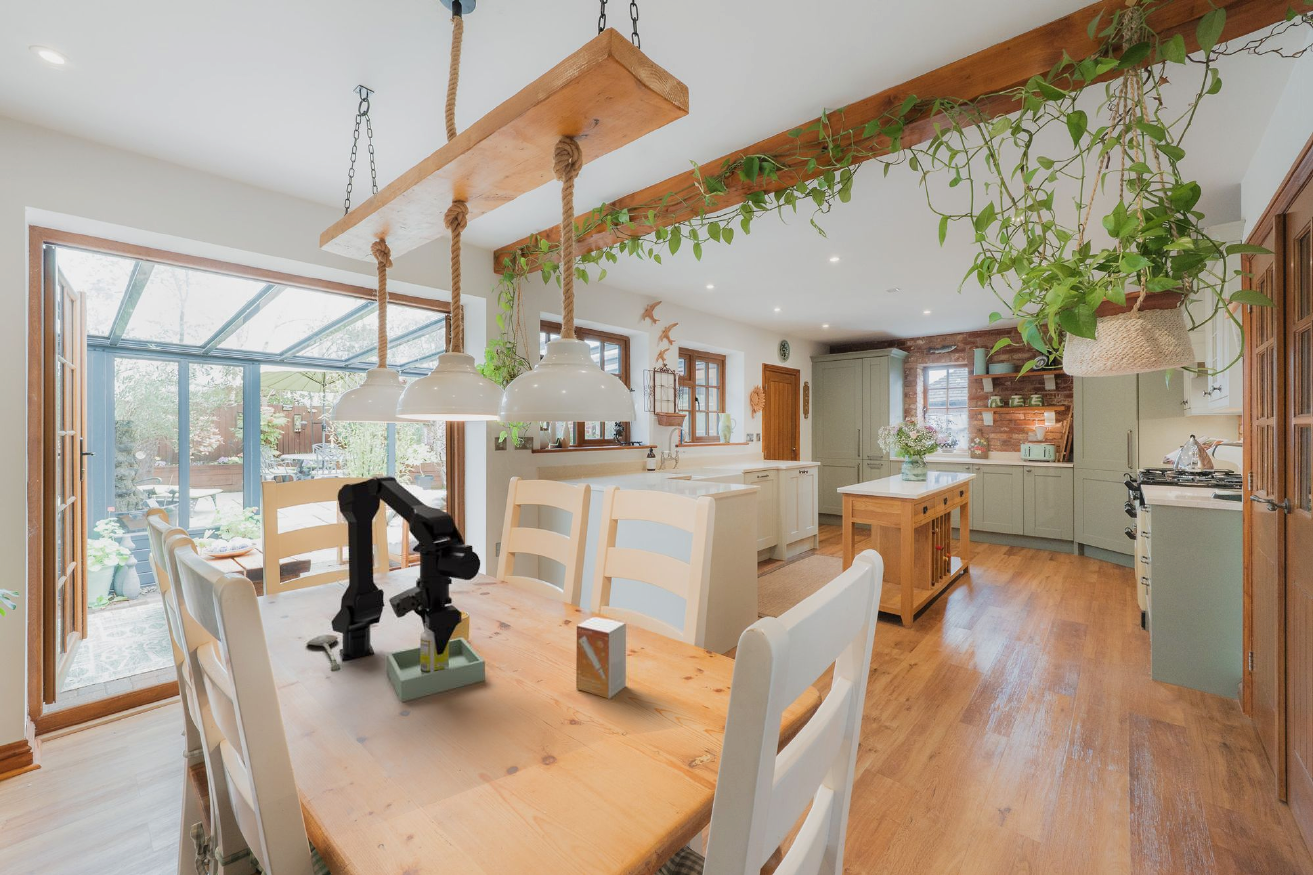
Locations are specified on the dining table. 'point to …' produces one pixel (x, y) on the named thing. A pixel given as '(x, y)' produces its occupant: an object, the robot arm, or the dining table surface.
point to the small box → (601, 656)
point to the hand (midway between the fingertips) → (434, 647)
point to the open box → (414, 684)
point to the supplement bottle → (431, 654)
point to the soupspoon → (325, 642)
